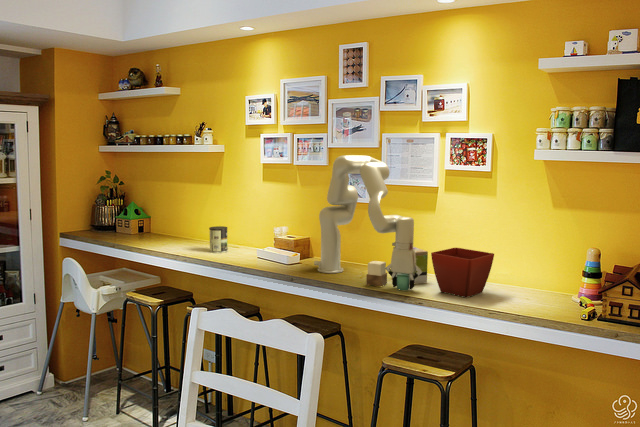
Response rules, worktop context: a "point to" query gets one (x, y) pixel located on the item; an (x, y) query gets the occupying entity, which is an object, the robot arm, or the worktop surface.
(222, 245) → the coffee can
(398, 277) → the teal block
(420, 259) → the tea box
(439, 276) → the plant pot
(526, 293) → the worktop surface
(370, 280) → the walnut base block
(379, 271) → the cream block
